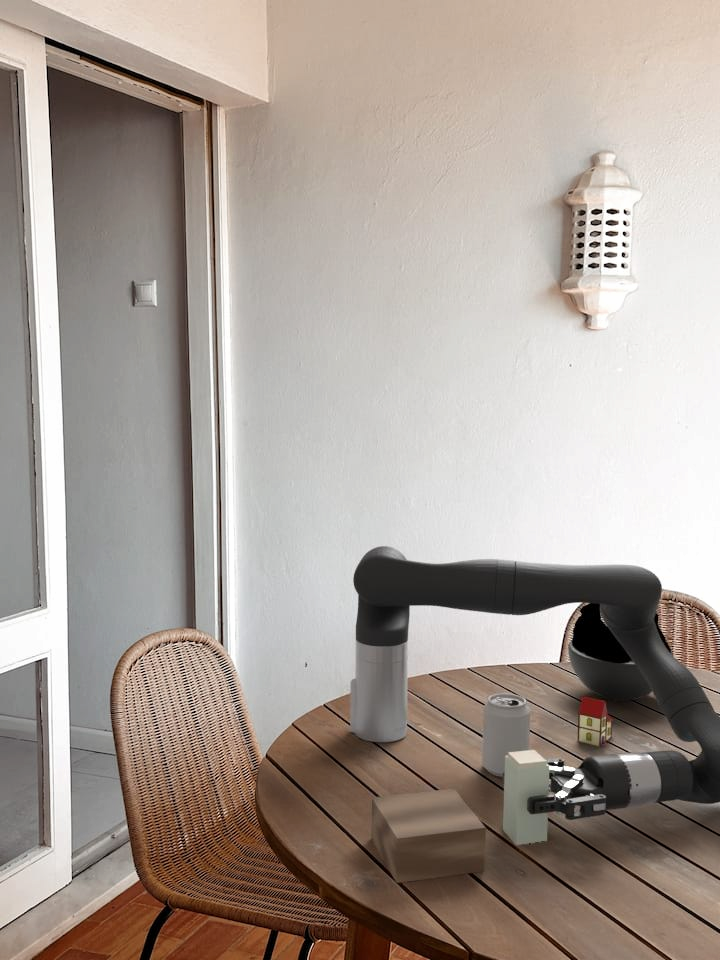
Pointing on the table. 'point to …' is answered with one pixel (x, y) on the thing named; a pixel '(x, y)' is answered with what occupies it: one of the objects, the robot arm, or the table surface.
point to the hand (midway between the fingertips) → (515, 792)
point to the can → (504, 730)
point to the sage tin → (524, 796)
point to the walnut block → (427, 835)
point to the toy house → (594, 722)
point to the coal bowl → (605, 658)
